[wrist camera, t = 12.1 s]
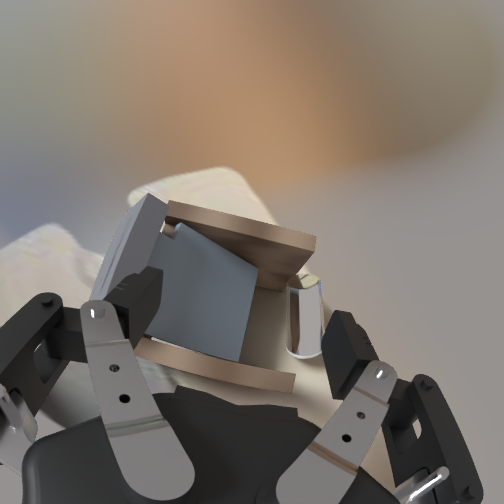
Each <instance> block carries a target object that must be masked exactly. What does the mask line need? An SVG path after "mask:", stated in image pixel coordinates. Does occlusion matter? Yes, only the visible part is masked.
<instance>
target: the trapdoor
mask: <svg viewBox="0 0 504 504" xmlns="http://www.w3.org/2000/svg"><path fill="white" fill-rule="evenodd" d="M169 207H170V206H169V205H167V204H166V203H164V202H162V201H161V200H159V199H158V198H156V197H154V196H153V195H151V194H150V193H147V194H146V195H145V196H144V197H143V198H142V199H141V200H140V201H139V202H137V203H136V204H135V205H134V206H133V207H132V208H131V209H130V210H129V211H128V212H127V213H126V214H125V215H123V217H122V219H121V221H120V223H119V225H118V228H117V230H116V232H115V234H114V236H113V239H112V241H111V243H110V246H109V248H108V251H107V253H106V255H105V258H104V260H103V263H102V265H101V268H100V271H99V273H98V276H97V279H96V281H95V284H94V287H93V290H92V293H91V295H90V298H89V301H91V300H103V298H104V297H105V296H106V295H107V294H108V293H109V292H110V291H111V290H112V289H113V288H114V287H116V286H117V285H118V284H119V283H120V282H121V281H122V280H123V279H124V278H125V277H126V276H128V275H131V274H133V273H137V274H140V272H141V271H142V270H143V269H144V268H145V267H146V266H151V267H155V268H158V269H162V270H163V285H162V295H161V303H160V307H159V310H158V312H157V314H156V315H155V317H154V318H153V320H152V322H151V323H150V325H149V326H148V328H147V330H146V331H145V333H144V334H146V335H149V336H151V337H154V338H157V339H160V340H163V341H166V342H169V343H172V344H175V345H178V346H181V347H184V348H187V349H190V350H194V351H197V352H200V353H204V354H207V355H211V356H214V357H218V358H221V359H225V360H229V361H233V362H239V357H240V353H241V348H242V344H243V339H244V335H245V330H246V326H247V321H248V317H249V312H250V307H251V303H252V298H253V294H254V289H255V284H256V280H257V275H258V270H259V269H258V268H256V267H255V266H253V265H251V264H249V263H248V262H246V261H244V260H243V259H241V258H239V257H238V256H236V255H234V254H233V253H231V252H229V251H228V250H226V249H224V248H223V247H221V246H219V245H218V244H216V243H214V242H213V241H211V240H209V239H208V238H206V237H204V236H203V235H201V234H199V233H198V232H196V231H195V230H193V229H191V228H190V227H188V226H186V225H185V224H183V223H179V224H177V225H176V228H175V230H174V233H173V236H172V239H171V238H170V237H168V236H166V235H164V234H163V233H161V232H160V229H161V227H162V224H163V222H164V219H165V217H166V215H167V212H168V210H169Z"/></svg>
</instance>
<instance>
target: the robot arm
mask: <svg viewBox="0 0 504 504" xmlns="http://www.w3.org/2000/svg"><path fill="white" fill-rule="evenodd" d="M162 285H163V270H162V269H158V268H155V267H151V266H146V267H145V268H144V269H143V270H142V271H141V272H140V274H137V273H133V274H131V275H128V276H126V277H125V278H124V279H123V280H122V281H121V282H120V283H119V284H118V285H117V286H116V287H114V288H113V289H112V290H111V291H110V292H109V293H108V294H107V295H106V296H105V297H104V298H103V300H91V301H88V302H86V303H84V304H83V305H82V306H81V308H80V309H76V308H69V307H63V302H62V298H61V297H60V296H59V295H57V294H55V293H49V292H47V293H41V294H38V295H36V296H35V297H33V298H32V299H31V300H30V301H29V302H28V303H27V304H26V305H24V306H23V307H22V308H21V309H20V310H19V311H18V312H17V313H16V314H15V315H13V316H12V317H11V318H10V319H9V320H8V321H7V322H6V323H5V324H4V325H3V326H2V327H0V465H5V466H6V467H8V468H9V469H10V470H12V471H13V472H15V473H16V474H18V475H19V476H21V477H22V483H23V499H22V504H480V503H481V502H482V499H483V487H482V484H481V481H480V479H479V476H478V473H477V470H476V468H475V465H474V462H473V460H472V457H471V455H470V453H469V450H468V448H467V445H466V443H465V441H464V438H463V436H462V434H461V431H460V429H459V427H458V425H457V423H456V421H455V418H454V416H453V414H452V412H451V410H450V408H449V406H448V404H447V402H446V400H445V398H444V396H443V394H442V392H441V390H440V388H439V386H438V385H437V383H436V382H435V381H434V380H433V379H432V378H431V377H429V376H427V375H424V374H418V375H416V376H415V377H414V378H413V380H412V381H411V382H408V381H405V380H402V379H398V378H397V373H396V371H395V370H394V368H393V367H392V366H390V365H389V364H387V363H385V362H382V361H380V360H379V358H378V356H377V354H376V352H375V350H374V348H373V346H372V345H371V342H370V340H369V338H368V336H367V333H366V332H365V330H364V329H363V328H362V327H361V326H360V325H359V324H356V322H355V320H354V318H353V316H352V314H351V313H350V312H345V311H339V310H335V311H334V312H333V314H332V317H331V319H330V321H329V323H328V326H327V328H326V330H325V333H324V335H323V337H322V341H321V351H322V355H323V359H324V363H325V367H326V371H327V376H328V380H329V384H330V389H331V393H332V397H333V399H337V400H343V403H342V404H341V405H340V407H339V408H338V409H337V411H336V412H335V413H334V415H333V416H332V417H331V419H330V420H329V421H328V423H327V424H326V425H325V427H324V428H323V429H320V428H319V427H318V426H316V425H315V424H313V423H311V422H309V421H307V420H305V419H303V418H300V417H298V412H297V408H291V407H283V406H276V405H235V404H232V403H230V402H227V401H225V400H223V399H220V398H218V397H216V396H213V395H211V394H209V393H206V392H202V391H198V390H194V389H190V388H186V387H183V386H179V385H177V387H176V390H175V393H157V394H151V392H150V389H149V387H148V385H147V383H146V380H145V378H144V376H143V373H142V371H141V368H140V366H139V364H138V361H137V359H136V356H135V353H134V349H135V348H136V346H137V344H138V343H139V341H140V339H141V338H142V336H143V335H144V333H145V331H146V330H147V328H148V326H149V325H150V323H151V322H152V320H153V318H154V317H155V315H156V314H157V312H158V310H159V307H160V303H161V295H162ZM39 344H41V345H40V346H39V347H38V348H37V346H38V345H39ZM36 348H37V350H36V351H35V349H36ZM34 351H35V352H34ZM70 361H76V362H83V363H88V366H89V370H90V375H91V379H92V384H93V388H94V392H95V396H96V400H97V403H98V407H99V410H100V414H101V415H100V416H98V417H95V418H93V419H91V420H88V421H86V422H83V423H81V424H78V425H75V426H73V427H70V428H68V429H65V430H62V431H59V432H57V433H54V434H51V435H48V436H45V437H43V438H41V439H39V440H37V441H35V437H36V434H37V430H38V429H37V422H36V420H35V419H34V417H35V415H36V414H37V412H38V410H39V409H40V407H41V405H42V404H43V402H44V400H45V399H46V397H47V396H48V394H49V392H50V391H51V389H52V388H53V386H54V385H55V383H56V381H57V380H58V378H59V377H60V375H61V374H62V372H63V371H64V369H65V368H66V366H67V365H68V363H69V362H70ZM417 419H419V422H420V424H421V428H422V431H421V435H420V437H419V438H418V439H417V436H416V434H415V430H414V428H413V425H412V424H413V423H414V422H415V421H416V420H417ZM380 426H381V427H382V431H383V435H384V438H385V442H386V447H387V451H388V455H389V459H390V464H391V468H392V473H393V477H394V482H395V487H396V489H395V491H394V493H393V495H392V494H391V493H390V492H389V491H388V490H387V489H385V488H384V487H383V486H382V485H381V484H380V483H378V482H377V481H376V480H375V479H374V478H373V477H372V476H370V475H369V474H368V473H367V472H366V471H365V470H364V469H363V468H362V467H361V466H359V465H360V464H361V462H362V460H363V458H364V457H365V455H366V453H367V451H368V449H369V447H370V446H371V444H372V442H373V440H374V438H375V436H376V434H377V432H378V430H379V428H380Z"/></svg>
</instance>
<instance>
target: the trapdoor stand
mask: <svg viewBox="0 0 504 504" xmlns="http://www.w3.org/2000/svg"><path fill="white" fill-rule="evenodd" d="M167 205H169V206H170V207H169V210H168V212H167V215H166V217H165V219H164V220H165V226H164V228H163V231H162V233H163V234H164V235H166V236H168V237H170V238H171V239H172V236H173V233H174V230H175V228H176V225H177V224H179V223H183V224H185V225H186V226H188V227H190V228H191V229H193V230H195V231H196V232H198V233H199V234H201V235H203V236H204V237H206V238H208V239H209V240H211V241H213V242H214V243H216V244H218V245H219V246H221V247H223V248H224V249H226V250H228V251H229V252H231V253H233V254H234V255H236V256H238V257H239V258H241V259H243V260H244V261H246V262H248V263H249V264H251V265H253V266H255V267H256V268H258V269H259V270H258V275H257V280H256V284H255V286H258V287H262V288H267V289H271V290H275V291H279V292H282V291H283V290H284V289H285V287H286V286H287V282H288V280H289V279H290V277H293V276H295V275H296V274H297V273H298V272H299V270H300V269H301V268H302V267H303V265H304V264H305V263H306V262H307V260H308V259H309V258H310V257H311V255H312V254H313V253H314V251H315V243H316V236H314V235H310V234H306V233H302V232H299V231H294V230H291V229H287V228H283V227H279V226H276V225H272V224H268V223H264V222H260V221H256V220H252V219H248V218H244V217H240V216H235V215H231V214H227V213H223V212H219V211H215V210H210V209H206V208H202V207H197V206H193V205H189V204H184V203H180V202H175V201H171V200H169V202H168V204H167ZM151 338H152V337H151V336H149V335H146V334H144V335H143V336H142V338H141V339H140V341H139V343H138V344H137V346H136V348H135V349H134V353H135V356H138V357H141V358H144V359H147V360H150V361H153V362H156V363H159V364H162V365H166V366H169V367H172V368H176V369H179V370H183V371H186V372H190V373H193V374H197V375H201V376H205V377H209V378H213V379H217V380H222V381H226V382H231V383H235V384H240V385H245V386H250V387H255V388H261V389H267V390H273V391H279V392H285V393H292V391H293V386H294V381H295V376H296V374H293V373H287V372H281V371H275V370H270V369H264V368H259V367H254V366H249V365H245V364H240V363H235V362H231V361H227V360H222V359H218V358H214V357H210V356H206V355H202V354H198V353H195V352H191V351H187V350H184V349H180V348H177V347H173V346H170V345H166V344H163V343H160V342H157V341H154V340H151Z"/></svg>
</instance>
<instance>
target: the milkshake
mask: <svg viewBox="0 0 504 504" xmlns="http://www.w3.org/2000/svg"><path fill="white" fill-rule="evenodd" d="M324 333H325V325H324V312H323V300H322V289H321V281H320V279H319V278H318V277H317V276H315V275H311V274H298V275H295V276H293V277H290V279H289V280H288V282H287V325H286V349H287V351H288V352H289V353H290V354H291V355H292V356H293V357H295V358H298V359H309V358H313V357H316V356H318V355H319V354H321V353H322V351H321V341H322V337H323V335H324Z"/></svg>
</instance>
